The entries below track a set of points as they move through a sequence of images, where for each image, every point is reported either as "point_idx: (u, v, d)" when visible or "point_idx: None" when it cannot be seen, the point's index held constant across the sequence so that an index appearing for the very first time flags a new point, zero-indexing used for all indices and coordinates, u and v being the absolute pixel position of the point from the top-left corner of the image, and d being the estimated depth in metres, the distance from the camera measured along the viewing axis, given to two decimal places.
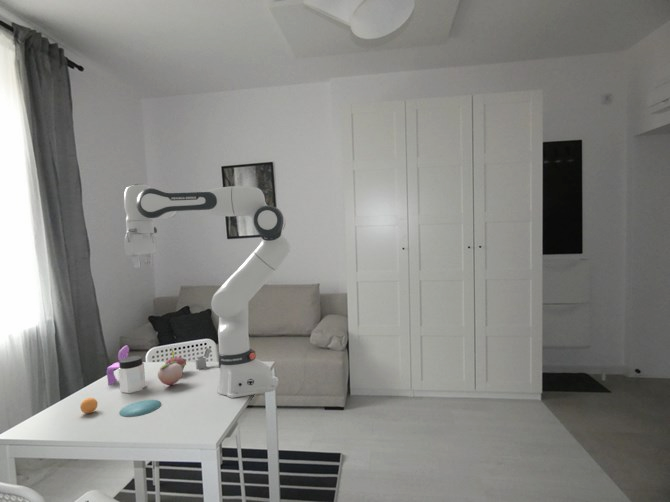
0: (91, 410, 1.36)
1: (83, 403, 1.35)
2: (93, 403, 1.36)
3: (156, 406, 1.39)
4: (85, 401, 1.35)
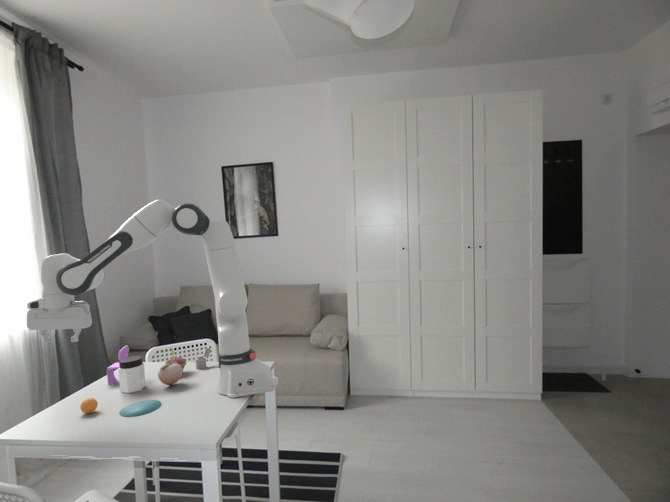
0: (91, 410, 1.36)
1: (83, 403, 1.35)
2: (93, 403, 1.36)
3: (156, 406, 1.39)
4: (85, 401, 1.35)
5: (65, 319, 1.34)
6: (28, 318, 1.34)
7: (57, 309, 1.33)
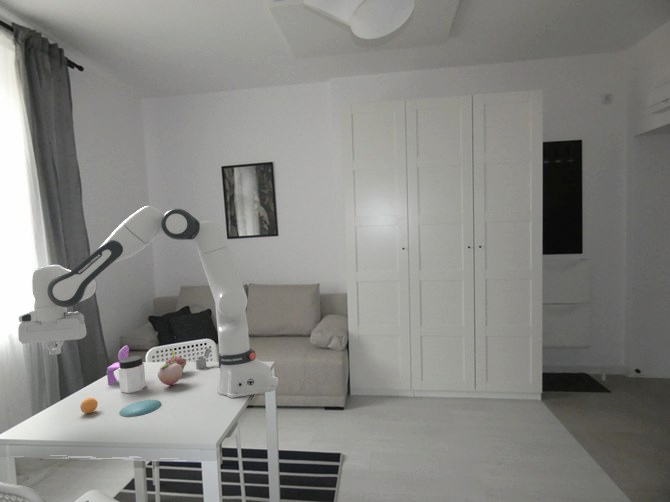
0: (91, 410, 1.36)
1: (83, 403, 1.35)
2: (93, 403, 1.36)
3: (156, 406, 1.39)
4: (85, 401, 1.35)
5: (59, 330, 1.34)
6: (20, 331, 1.33)
7: (51, 321, 1.32)
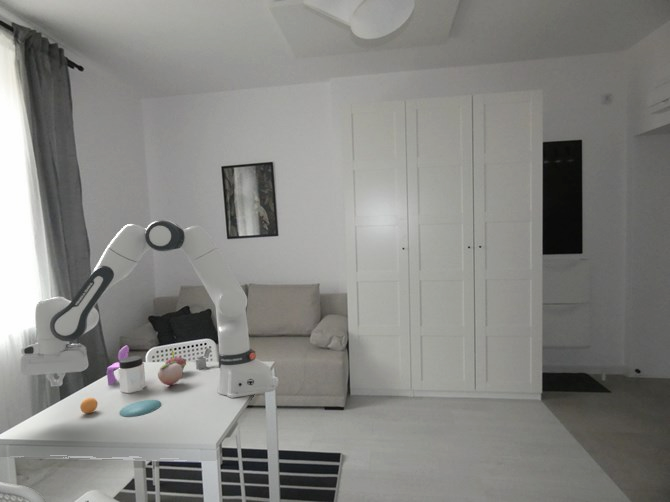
0: (91, 410, 1.36)
1: (83, 403, 1.35)
2: (93, 403, 1.36)
3: (156, 406, 1.39)
4: (85, 401, 1.35)
5: (61, 363, 1.34)
6: (22, 363, 1.33)
7: (53, 353, 1.33)
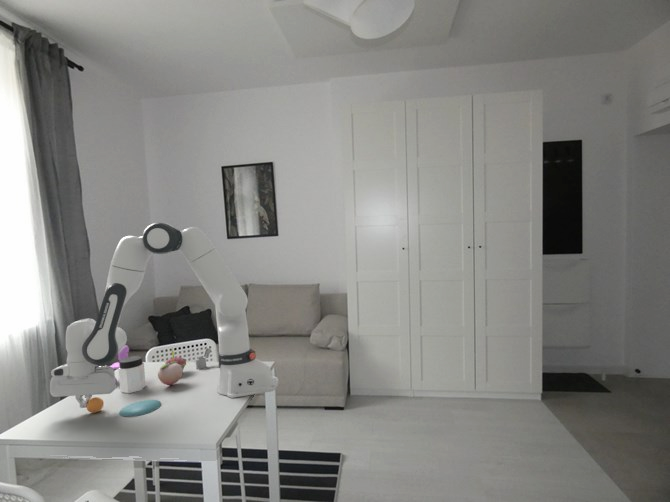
0: (96, 411, 1.36)
1: (91, 402, 1.35)
2: (100, 405, 1.36)
3: (156, 406, 1.39)
4: (94, 401, 1.36)
5: (89, 385, 1.35)
6: (51, 385, 1.34)
7: (82, 376, 1.34)
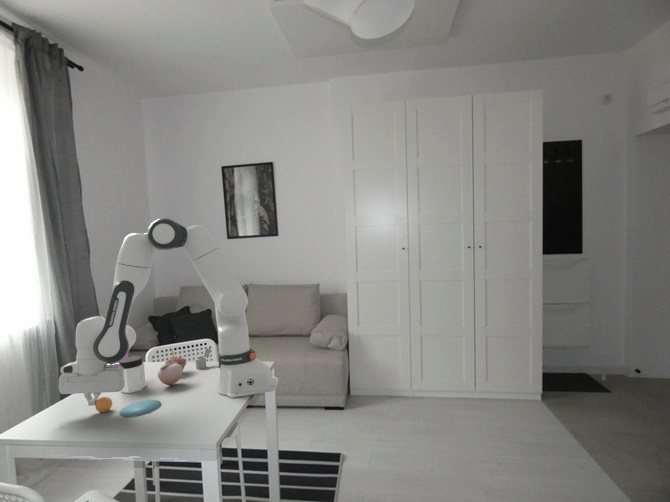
0: (103, 411, 1.36)
1: (102, 401, 1.35)
2: (109, 406, 1.36)
3: (156, 406, 1.39)
4: (105, 401, 1.36)
5: (98, 382, 1.35)
6: (60, 382, 1.34)
7: (91, 373, 1.34)
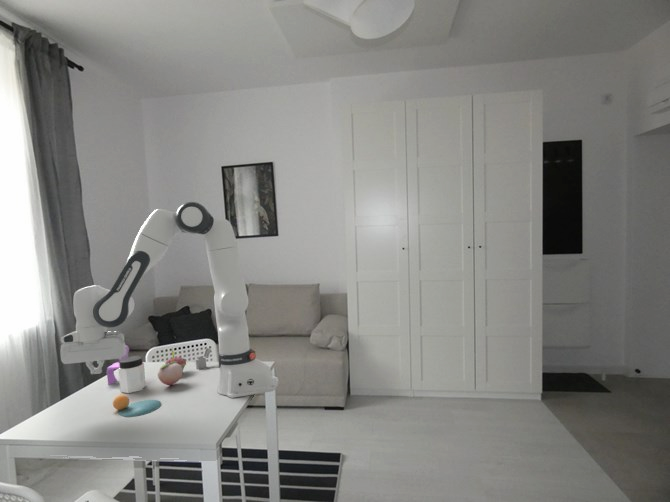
0: (114, 401, 1.36)
1: (123, 407, 1.36)
2: (115, 408, 1.37)
3: (156, 406, 1.39)
4: (122, 408, 1.37)
5: (100, 350, 1.35)
6: (62, 352, 1.34)
7: (92, 341, 1.34)
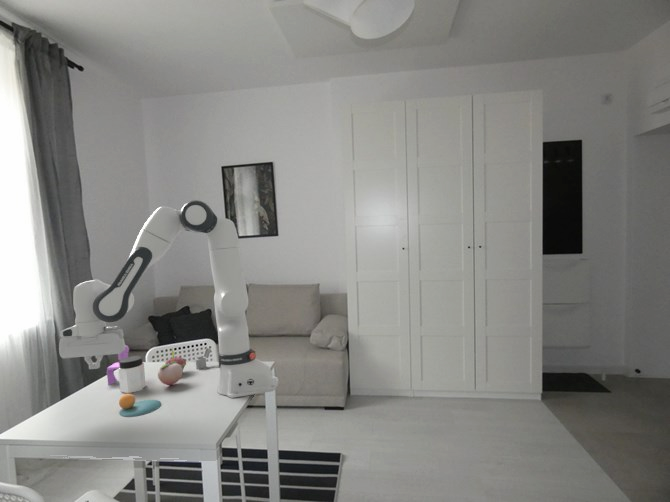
0: (123, 397, 1.37)
1: (126, 407, 1.37)
2: (119, 403, 1.37)
3: (156, 406, 1.39)
4: (124, 408, 1.37)
5: (99, 345, 1.35)
6: (61, 346, 1.33)
7: (91, 336, 1.33)
